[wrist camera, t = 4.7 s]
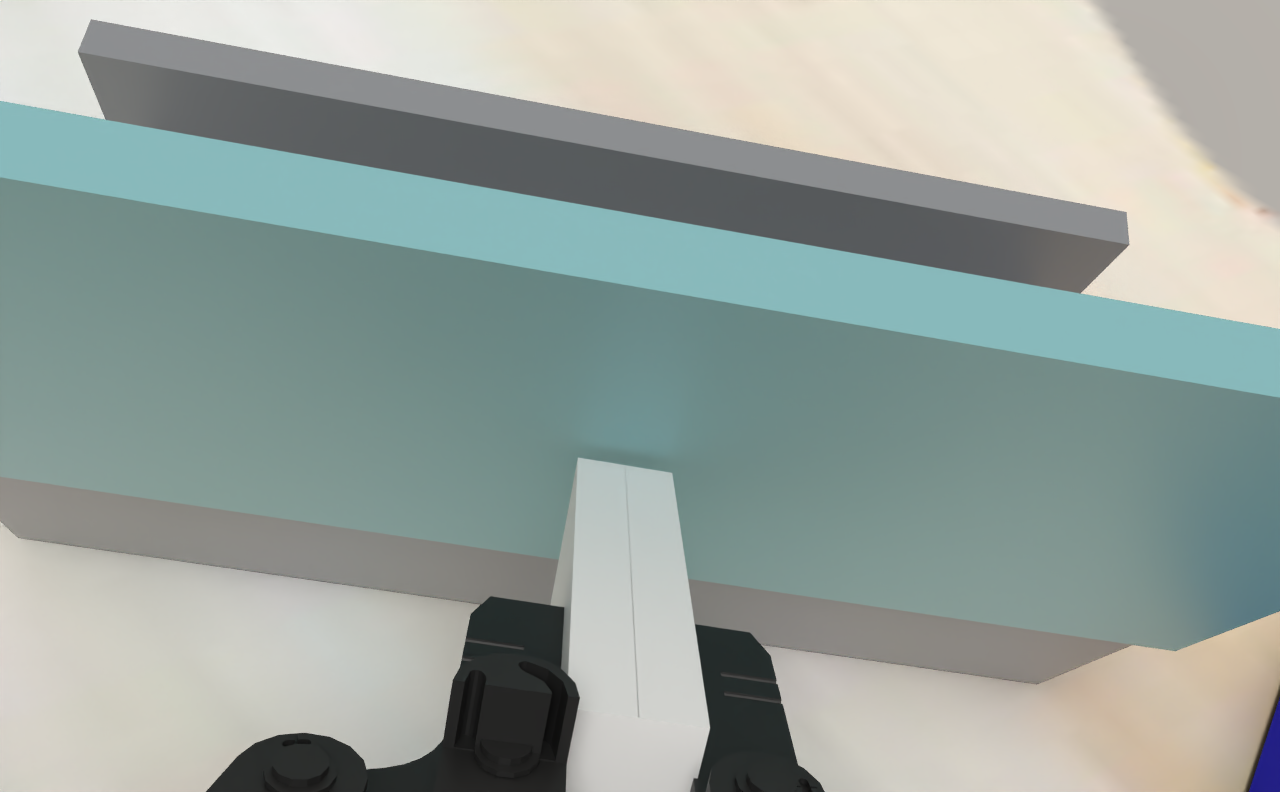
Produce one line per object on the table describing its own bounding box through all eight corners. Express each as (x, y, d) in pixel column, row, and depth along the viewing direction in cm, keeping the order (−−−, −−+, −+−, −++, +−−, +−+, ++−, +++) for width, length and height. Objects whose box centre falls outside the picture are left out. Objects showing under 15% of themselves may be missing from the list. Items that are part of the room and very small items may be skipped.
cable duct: (1037, 683, 31) (1165, 631, 25) (17, 537, 28) (-82, 444, 23) (1021, 321, 35) (1126, 212, 30) (148, 168, 33) (91, 19, 27)
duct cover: (1170, 605, 25) (1174, 650, 25) (-79, 414, 23) (-99, 461, 22) (1643, 393, 15) (1664, 463, 15) (-478, 15, 13) (-528, 87, 12)
